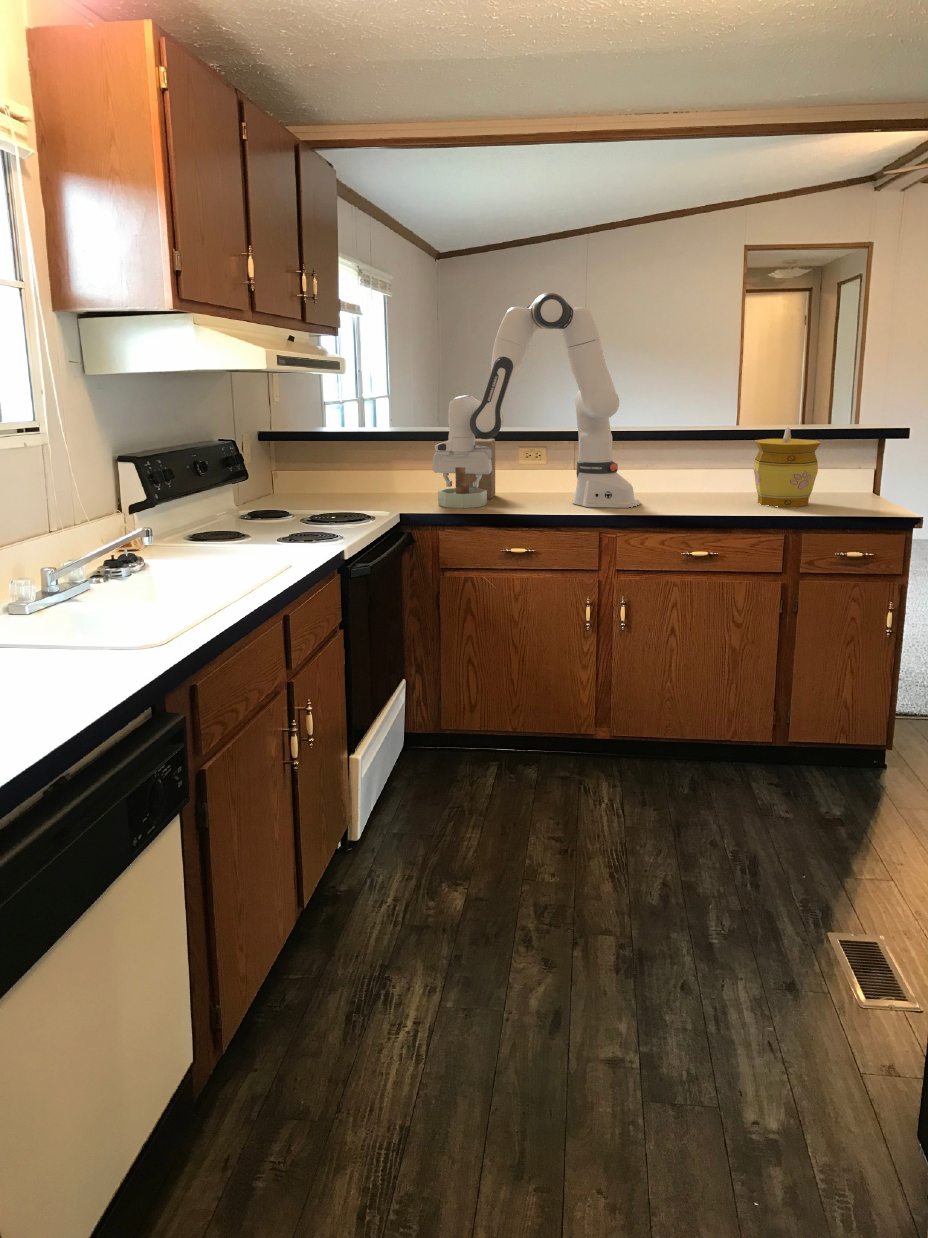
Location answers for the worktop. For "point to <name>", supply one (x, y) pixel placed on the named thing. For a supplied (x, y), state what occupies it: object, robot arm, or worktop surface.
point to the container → (785, 471)
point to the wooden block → (487, 479)
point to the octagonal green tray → (462, 498)
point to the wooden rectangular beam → (461, 481)
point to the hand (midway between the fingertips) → (462, 486)
